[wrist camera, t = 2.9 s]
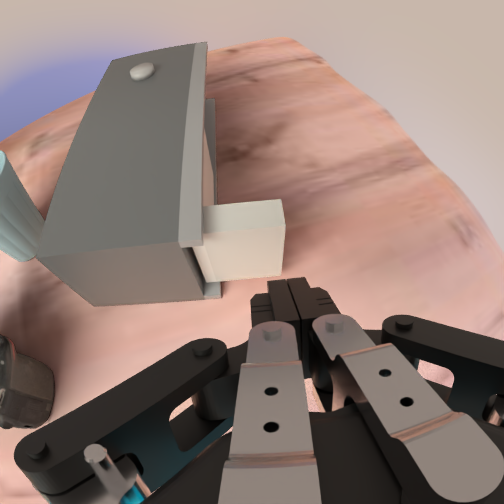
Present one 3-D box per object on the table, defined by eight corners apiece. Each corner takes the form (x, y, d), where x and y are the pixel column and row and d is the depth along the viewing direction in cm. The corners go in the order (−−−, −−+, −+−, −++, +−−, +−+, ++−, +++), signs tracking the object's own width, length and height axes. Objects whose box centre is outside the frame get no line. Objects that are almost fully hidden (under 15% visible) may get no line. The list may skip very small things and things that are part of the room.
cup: (64, 244, 29) (7, 179, 20) (12, 285, 27) (-53, 233, 18) (49, 200, 32) (4, 138, 23) (2, 236, 30) (-49, 183, 21)
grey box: (94, 306, 25) (29, 251, 17) (132, 110, 39) (112, 50, 30) (221, 298, 26) (198, 231, 17) (215, 97, 39) (206, 32, 30)
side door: (206, 282, 25) (187, 235, 19) (205, 176, 30) (192, 120, 24) (281, 275, 25) (285, 225, 19) (265, 170, 30) (264, 112, 24)
